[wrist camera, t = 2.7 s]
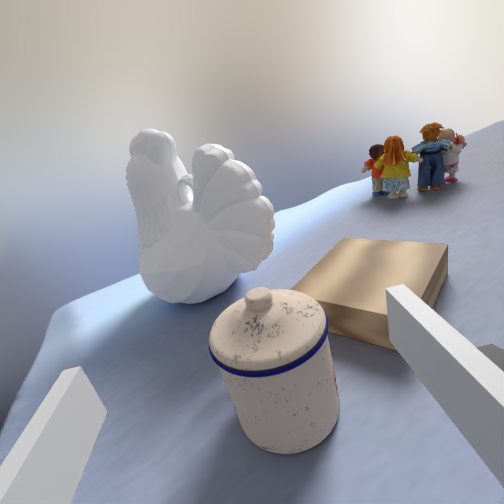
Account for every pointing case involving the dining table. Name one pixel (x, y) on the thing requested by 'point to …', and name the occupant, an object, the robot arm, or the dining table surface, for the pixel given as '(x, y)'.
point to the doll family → (430, 161)
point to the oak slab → (372, 283)
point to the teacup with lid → (278, 368)
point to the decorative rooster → (195, 218)
